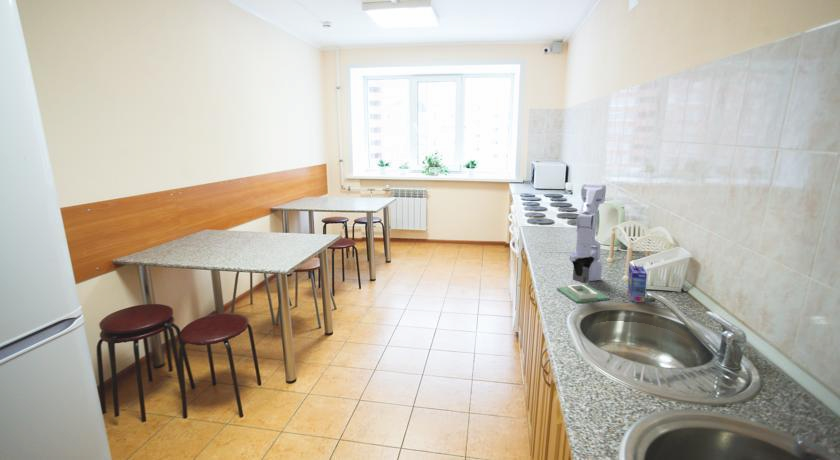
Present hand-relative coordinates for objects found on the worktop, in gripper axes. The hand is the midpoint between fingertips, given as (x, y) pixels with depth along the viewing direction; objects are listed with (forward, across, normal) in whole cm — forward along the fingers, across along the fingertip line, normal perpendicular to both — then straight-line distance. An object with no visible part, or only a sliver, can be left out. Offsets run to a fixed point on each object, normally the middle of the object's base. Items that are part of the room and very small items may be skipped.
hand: (581, 274), depth 168 cm
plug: (+3, 0, 0) cm, 3 cm away
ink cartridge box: (+9, -16, +14) cm, 23 cm away
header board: (+9, -1, 0) cm, 9 cm away
